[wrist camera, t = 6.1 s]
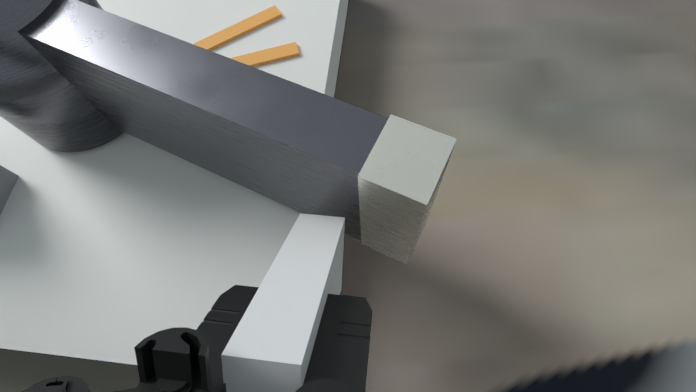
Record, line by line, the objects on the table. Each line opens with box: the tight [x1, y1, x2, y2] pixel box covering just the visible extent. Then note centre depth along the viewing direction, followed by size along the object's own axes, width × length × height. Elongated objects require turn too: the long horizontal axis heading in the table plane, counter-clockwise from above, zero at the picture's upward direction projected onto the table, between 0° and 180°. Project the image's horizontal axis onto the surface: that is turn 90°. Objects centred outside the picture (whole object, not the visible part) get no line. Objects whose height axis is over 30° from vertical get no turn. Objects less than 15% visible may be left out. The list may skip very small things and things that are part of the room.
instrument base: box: [0, 0, 349, 365], centre depth 21 cm, size 22×24×7 cm
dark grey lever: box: [0, 0, 457, 264], centre depth 16 cm, size 21×6×7 cm, turn 64°
